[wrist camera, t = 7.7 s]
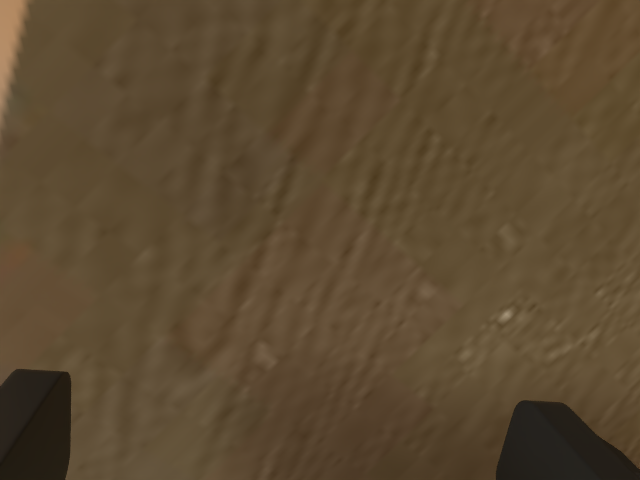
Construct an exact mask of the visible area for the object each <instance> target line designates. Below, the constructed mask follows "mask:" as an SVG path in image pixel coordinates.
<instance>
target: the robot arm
mask: <svg viewBox="0 0 640 480" xmlns="http://www.w3.org/2000/svg"><path fill="white" fill-rule="evenodd" d="M70 432H71V378H70V375H69V373H68V372H60V371H44V370H27V369H17V370H15V371H13V372H12V373H11V374H10V376H9V377H8V378H7V379H6V380H5V381H4V383H3V384H2V385H1V386H0V480H65V478H66V474H67V470H68V465H69V458H70ZM496 480H640V470H639V469H638V468H637V467H636V466H635V465H634V464H633V463H632V462H631V461H630V460H629V459H628V458H627V457H626V456H625V455H624V454H623V453H622V452H621V451H619V450H618V449H617V448H615V447H614V446H612V445H611V444H609V443H608V442H606V441H605V440H603V439H602V438H600V437H599V436H597V435H596V434H595V433H594V432H593V431H592V430H591V429H590V428H589V427H588V426H587V425H586V424H585V423H584V422H583V421H582V420H581V419H580V418H579V417H578V416H577V415H576V414H575V413H574V412H573V411H572V410H571V409H570V408H569V407H568V406H567V405H565V404H563V403H560V402H544V401H527V400H523V401H521V402H519V403H518V404H517V405H516V407H515V409H514V412H513V415H512V418H511V421H510V425H509V428H508V432H507V435H506V438H505V442H504V445H503V448H502V452H501V455H500V459H499V462H498V465H497V470H496Z"/></svg>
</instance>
